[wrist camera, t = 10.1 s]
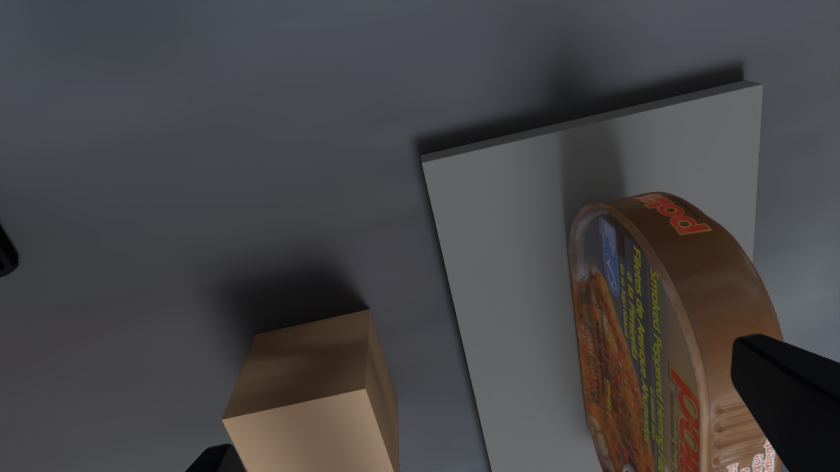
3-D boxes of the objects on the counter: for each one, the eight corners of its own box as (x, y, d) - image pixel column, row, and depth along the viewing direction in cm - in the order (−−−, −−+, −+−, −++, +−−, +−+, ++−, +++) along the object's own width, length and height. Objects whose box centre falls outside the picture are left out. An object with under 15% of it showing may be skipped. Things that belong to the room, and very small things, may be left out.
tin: (557, 171, 19) (677, 290, 11) (644, 151, 18) (827, 258, 11) (590, 464, 25) (680, 671, 17) (655, 451, 25) (776, 653, 17)
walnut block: (293, 419, 24) (271, 517, 20) (255, 333, 22) (221, 419, 17) (397, 397, 24) (400, 490, 19) (369, 308, 22) (365, 388, 17)
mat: (498, 501, 27) (502, 518, 26) (420, 155, 19) (421, 163, 18) (728, 454, 26) (740, 470, 26) (744, 80, 19) (763, 84, 18)
